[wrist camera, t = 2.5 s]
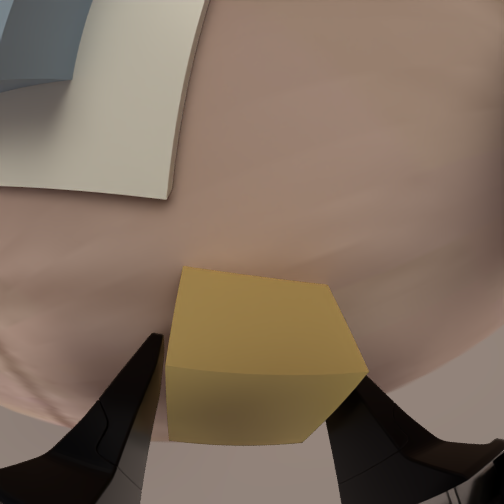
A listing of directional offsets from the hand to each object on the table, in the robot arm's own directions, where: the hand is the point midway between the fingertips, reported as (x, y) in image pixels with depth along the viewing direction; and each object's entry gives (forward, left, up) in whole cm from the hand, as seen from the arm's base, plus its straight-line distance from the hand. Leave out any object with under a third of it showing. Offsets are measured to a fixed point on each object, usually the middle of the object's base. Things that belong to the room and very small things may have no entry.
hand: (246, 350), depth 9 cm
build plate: (+9, -11, -1) cm, 14 cm away
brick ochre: (0, 0, -1) cm, 1 cm away
